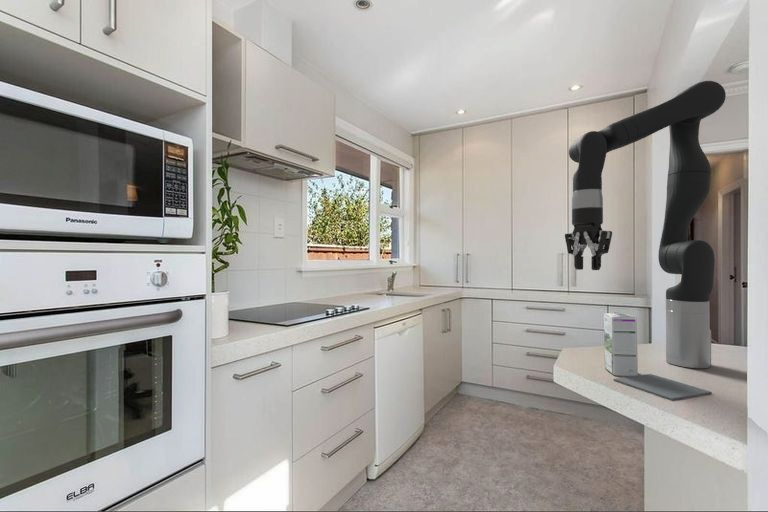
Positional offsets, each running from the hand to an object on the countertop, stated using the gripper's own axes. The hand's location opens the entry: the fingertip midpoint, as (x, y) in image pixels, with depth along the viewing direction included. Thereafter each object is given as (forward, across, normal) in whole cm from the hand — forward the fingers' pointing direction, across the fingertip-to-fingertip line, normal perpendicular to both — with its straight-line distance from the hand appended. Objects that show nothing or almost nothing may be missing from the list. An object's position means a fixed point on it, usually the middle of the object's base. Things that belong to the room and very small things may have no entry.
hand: (587, 269), depth 104 cm
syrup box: (+26, -10, 0) cm, 27 cm away
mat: (+25, -20, +1) cm, 33 cm away
